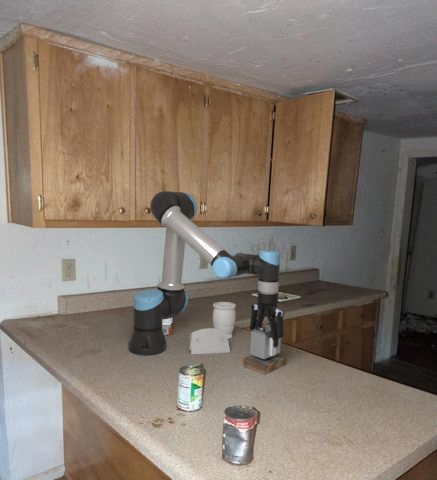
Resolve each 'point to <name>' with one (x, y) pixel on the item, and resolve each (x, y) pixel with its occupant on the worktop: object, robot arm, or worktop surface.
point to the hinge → (209, 341)
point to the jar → (224, 316)
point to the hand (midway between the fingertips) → (265, 352)
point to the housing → (262, 342)
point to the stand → (264, 363)
